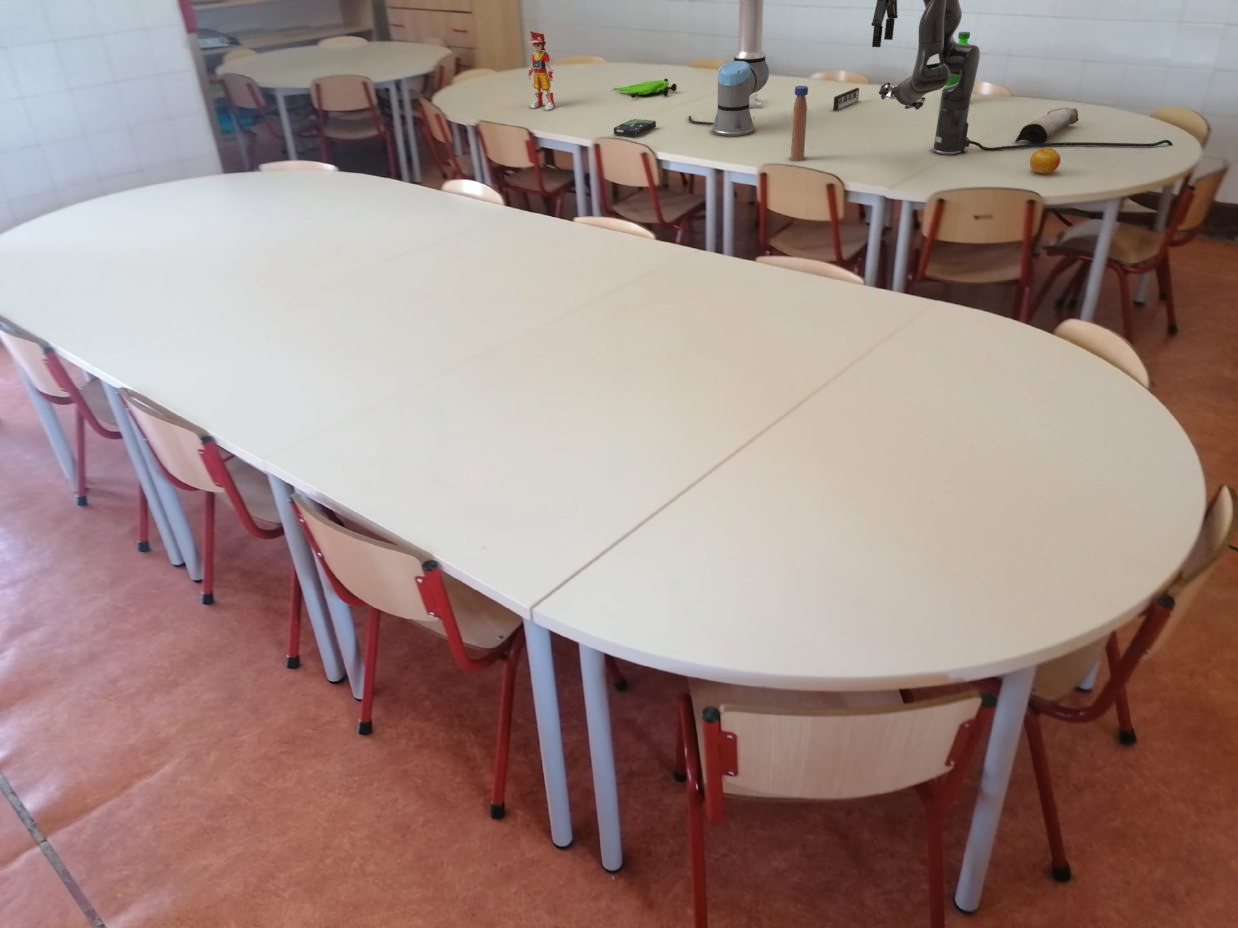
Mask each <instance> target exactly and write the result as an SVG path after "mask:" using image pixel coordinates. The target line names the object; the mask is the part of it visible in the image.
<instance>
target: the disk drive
mask: <svg viewBox="0 0 1238 928" xmlns="http://www.w3.org/2000/svg"><path fill="white" fill-rule="evenodd" d="M656 127H657V122H656V120H650V119H649V120H648V119H639V118H637V119H636V118H634V119H633V118H632V119H630V120H627V121H626V122H623V123H621V124H619V125H616V126H614V127H613V135H615V136H616V135H617V136H624V137H633V138H634V137H635V138H636V137H640V136H641V135H643V134H646V133H647V132H649V131H652V130H654V129H656Z"/></svg>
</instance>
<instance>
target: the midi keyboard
mask: <svg viewBox="0 0 1238 928" xmlns="http://www.w3.org/2000/svg"><path fill="white" fill-rule="evenodd" d="M859 94H860V88H859V87H856V88H853V89H850V90H848V91H846V92H843V93H840V94H838V95H835V96H834V97H833V108H832V110H833V111H838V110H840V109H842V108H844V107H846V106H849V105H852V104H854V103H856V102H858V101H859Z"/></svg>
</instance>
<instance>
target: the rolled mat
mask: <svg viewBox="0 0 1238 928" xmlns="http://www.w3.org/2000/svg"><path fill="white" fill-rule="evenodd" d="M1079 120H1080V119H1079V111H1078V109H1077V108H1075V107H1073V108H1072V107H1059V108H1054V109H1049V111H1048V112H1046V114H1045V115H1042V116H1040V117H1039V118H1037V119H1035V120H1033V121H1031V122H1029V123H1028V124H1026V125H1023V127H1022V128H1021V130H1020V131H1019V134H1018V135H1017V137H1016V138H1015V141H1014V142H1015V143H1018V142H1020V141H1026V142H1028V144H1039V143H1047V141H1049V140H1050V139H1051V138H1052V136H1054V135H1055V134H1056V133H1057V132H1058V131H1059V130H1061V129H1063V127H1065V126H1069V125H1074V124H1077V122H1079Z"/></svg>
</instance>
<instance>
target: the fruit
mask: <svg viewBox="0 0 1238 928" xmlns="http://www.w3.org/2000/svg"><path fill="white" fill-rule="evenodd" d="M1061 160H1062V159H1061V156H1060V153H1059V151H1057V150H1055V149H1053V148H1050V147H1044V148H1039V149H1037V150H1035V151H1034V152H1033V153H1032V155H1031V156H1030V158H1029V167H1030V169H1031V171H1033V172H1035V173H1036V174H1051V173H1053V172H1055V171H1056V170H1057V169H1058V168H1059V166H1060V164H1061Z"/></svg>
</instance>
